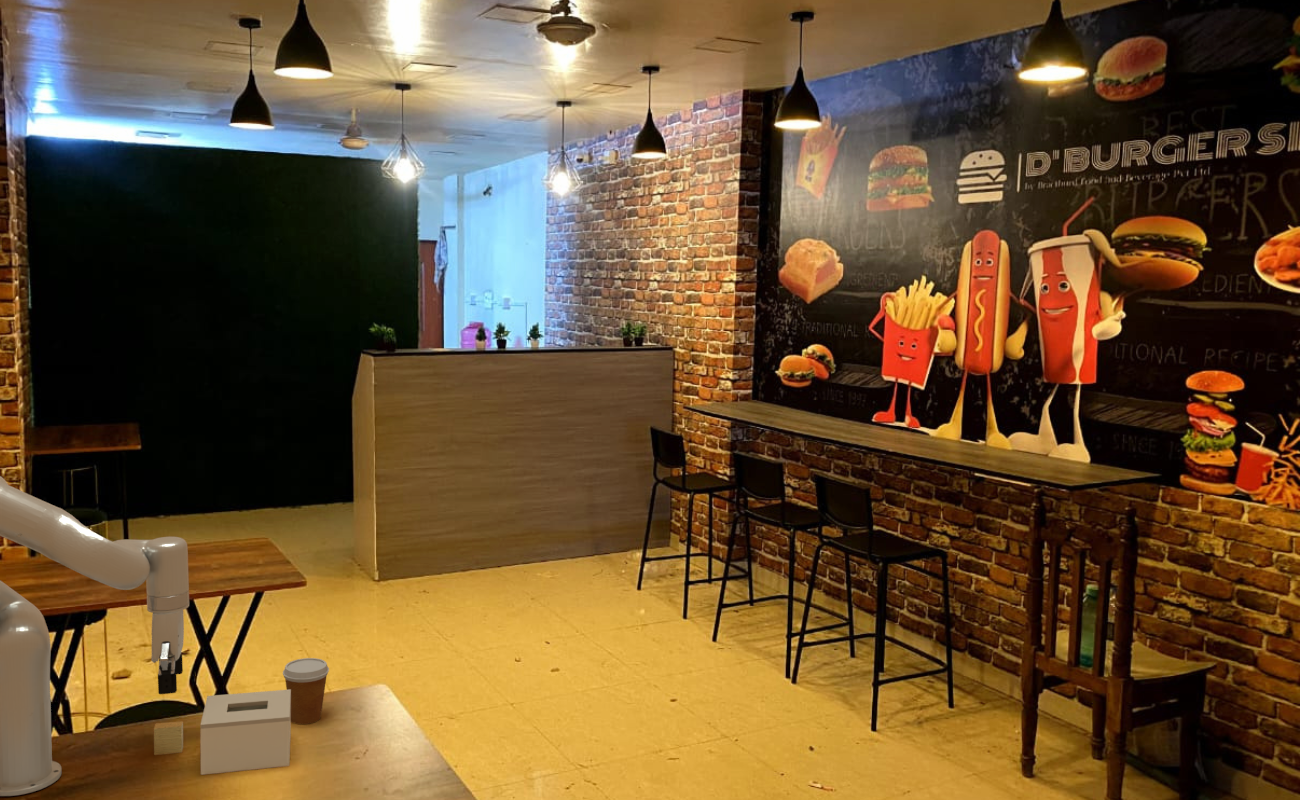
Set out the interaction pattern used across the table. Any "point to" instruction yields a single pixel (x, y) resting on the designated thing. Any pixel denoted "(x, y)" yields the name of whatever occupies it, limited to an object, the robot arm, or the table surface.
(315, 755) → the table surface
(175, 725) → the wooden block
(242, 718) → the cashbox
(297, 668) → the disposable coffee cup
